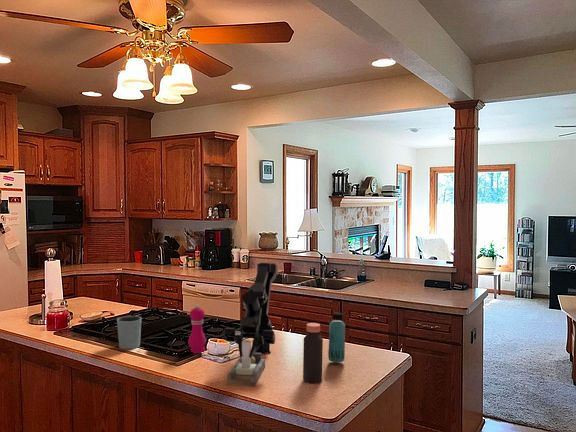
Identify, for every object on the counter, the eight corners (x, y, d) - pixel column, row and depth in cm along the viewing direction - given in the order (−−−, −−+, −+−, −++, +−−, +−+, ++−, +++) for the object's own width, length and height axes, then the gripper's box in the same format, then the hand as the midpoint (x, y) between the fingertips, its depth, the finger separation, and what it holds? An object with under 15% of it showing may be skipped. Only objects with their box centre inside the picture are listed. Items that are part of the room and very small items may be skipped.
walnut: (254, 363, 183) (254, 354, 183) (256, 366, 180) (256, 357, 180) (244, 364, 182) (244, 354, 182) (246, 367, 179) (246, 358, 179)
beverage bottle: (335, 359, 194) (336, 310, 193) (348, 363, 189) (349, 313, 188) (324, 363, 189) (325, 312, 188) (337, 367, 184) (338, 315, 184)
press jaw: (239, 368, 177) (239, 338, 177) (256, 369, 176) (257, 339, 176) (235, 374, 171) (235, 343, 171) (253, 375, 170) (253, 344, 170)
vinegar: (308, 385, 167) (309, 328, 166) (299, 378, 173) (300, 323, 172) (325, 382, 170) (326, 326, 169) (316, 375, 176) (317, 321, 175)
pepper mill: (206, 349, 204) (207, 302, 203) (204, 355, 197) (204, 306, 196) (189, 349, 204) (190, 302, 203) (186, 355, 196) (187, 306, 196)
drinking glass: (131, 351, 200) (131, 322, 200) (111, 348, 203) (111, 320, 203) (146, 344, 210) (146, 316, 209) (126, 341, 213) (126, 314, 212)
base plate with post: (239, 365, 185) (239, 351, 184) (265, 367, 183) (265, 353, 183) (226, 384, 166) (226, 368, 166) (255, 386, 165) (255, 370, 165)
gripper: (224, 306, 178) (215, 344, 168) (274, 308, 175) (268, 348, 165) (229, 321, 186) (221, 359, 176) (277, 324, 184) (272, 362, 173)
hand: (245, 357), depth 172 cm, fingers closed on press jaw, 3 cm apart
